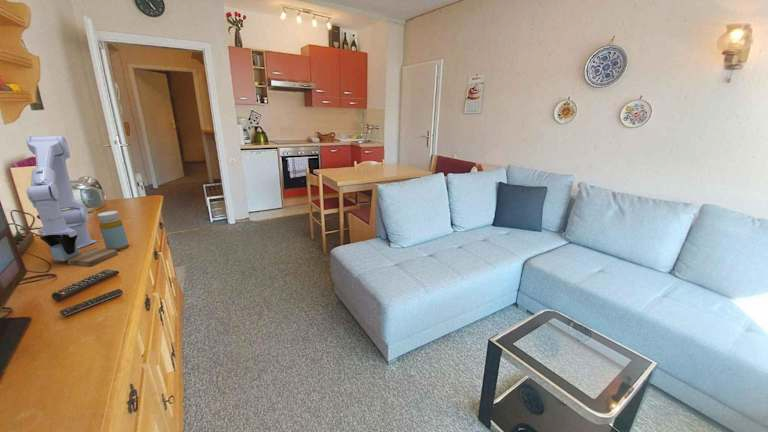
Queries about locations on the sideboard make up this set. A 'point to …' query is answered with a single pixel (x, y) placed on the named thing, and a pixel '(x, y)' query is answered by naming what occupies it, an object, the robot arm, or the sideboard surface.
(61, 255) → the cube
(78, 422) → the sideboard surface
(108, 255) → the base slab
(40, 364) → the sideboard surface
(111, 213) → the bottle
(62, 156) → the robot arm
